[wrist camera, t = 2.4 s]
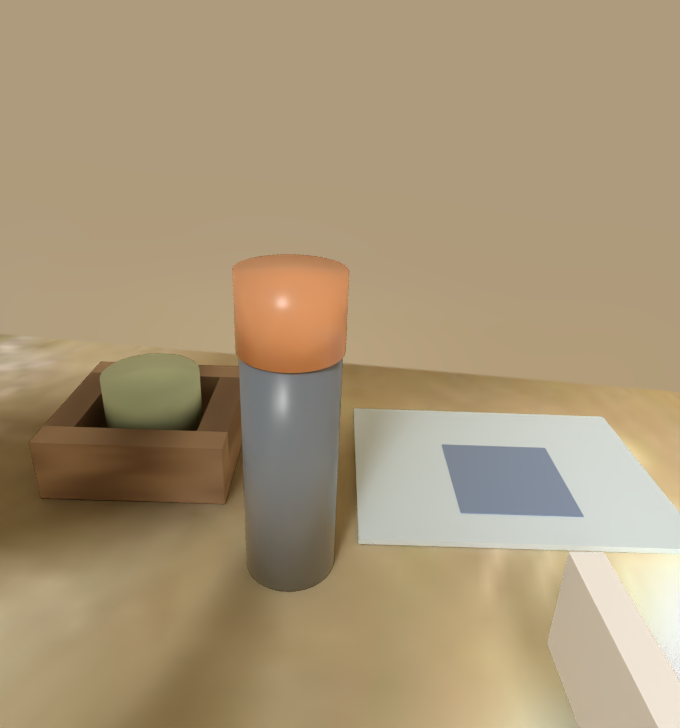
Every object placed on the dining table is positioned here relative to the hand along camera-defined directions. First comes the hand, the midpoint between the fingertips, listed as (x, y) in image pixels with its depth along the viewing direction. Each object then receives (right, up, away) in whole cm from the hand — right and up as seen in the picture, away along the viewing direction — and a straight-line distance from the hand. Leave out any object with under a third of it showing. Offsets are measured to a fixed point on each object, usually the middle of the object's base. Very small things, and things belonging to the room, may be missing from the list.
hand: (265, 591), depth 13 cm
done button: (-8, +2, +19) cm, 21 cm away
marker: (-1, -4, +13) cm, 13 cm away
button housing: (-9, 0, +20) cm, 22 cm away
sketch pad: (+10, -1, +19) cm, 22 cm away
